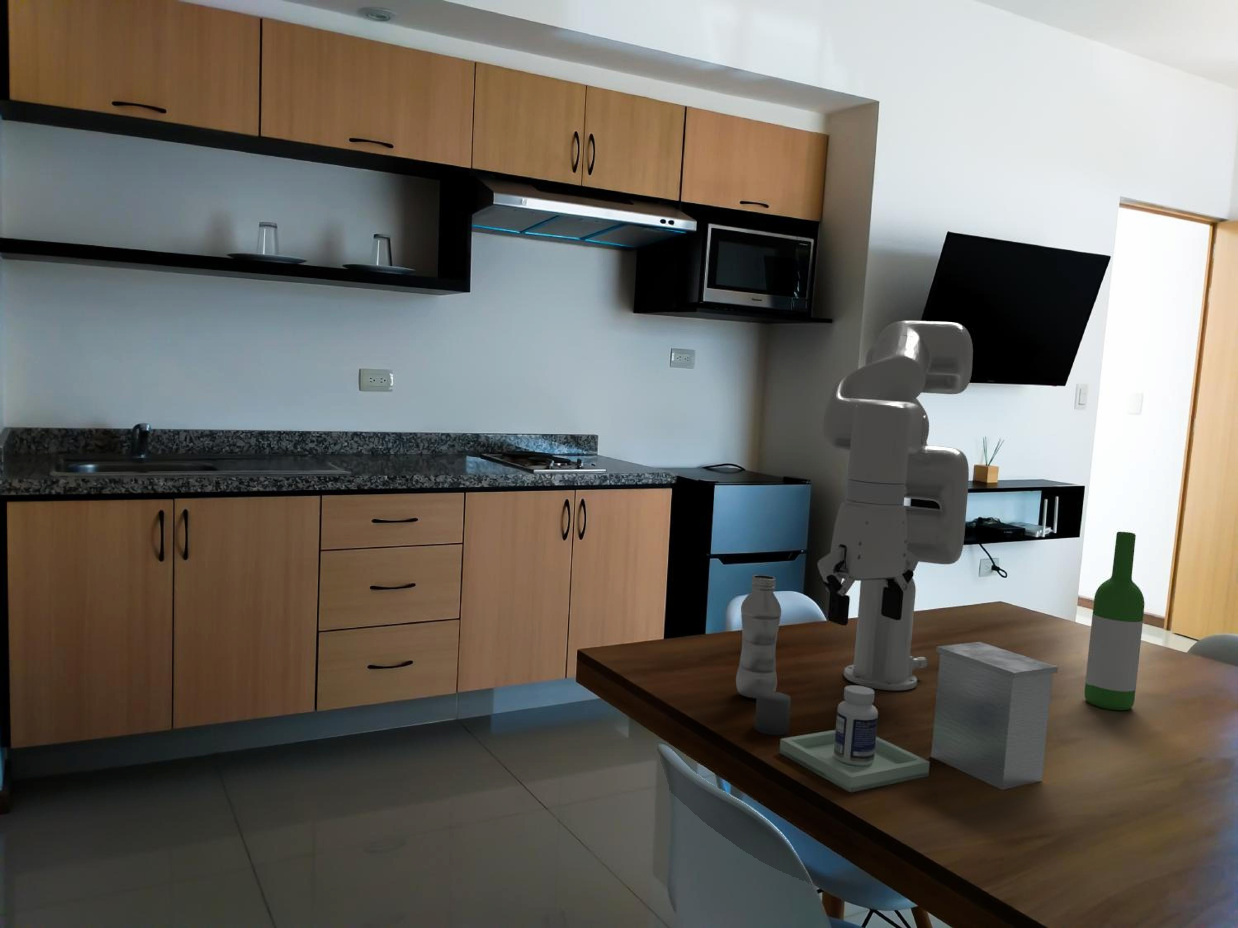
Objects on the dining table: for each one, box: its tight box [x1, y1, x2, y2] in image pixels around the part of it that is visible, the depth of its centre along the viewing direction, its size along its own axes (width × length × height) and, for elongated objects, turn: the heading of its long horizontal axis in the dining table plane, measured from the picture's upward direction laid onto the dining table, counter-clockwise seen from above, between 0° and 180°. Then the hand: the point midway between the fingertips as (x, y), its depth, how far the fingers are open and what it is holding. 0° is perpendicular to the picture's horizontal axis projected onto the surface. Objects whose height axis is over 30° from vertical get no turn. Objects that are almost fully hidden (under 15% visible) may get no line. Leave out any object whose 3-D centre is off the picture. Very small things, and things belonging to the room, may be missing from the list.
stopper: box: [754, 691, 792, 736], centre depth 143 cm, size 5×5×5 cm
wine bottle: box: [1084, 531, 1145, 711], centre depth 165 cm, size 8×8×30 cm
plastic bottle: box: [735, 574, 782, 700], centre depth 157 cm, size 6×7×20 cm
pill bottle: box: [834, 684, 879, 766], centre depth 131 cm, size 5×5×10 cm
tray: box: [779, 729, 931, 793], centre depth 131 cm, size 14×14×2 cm
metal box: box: [930, 641, 1059, 791], centre depth 132 cm, size 9×13×16 cm
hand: (864, 620), depth 130 cm, fingers open, 9 cm apart
